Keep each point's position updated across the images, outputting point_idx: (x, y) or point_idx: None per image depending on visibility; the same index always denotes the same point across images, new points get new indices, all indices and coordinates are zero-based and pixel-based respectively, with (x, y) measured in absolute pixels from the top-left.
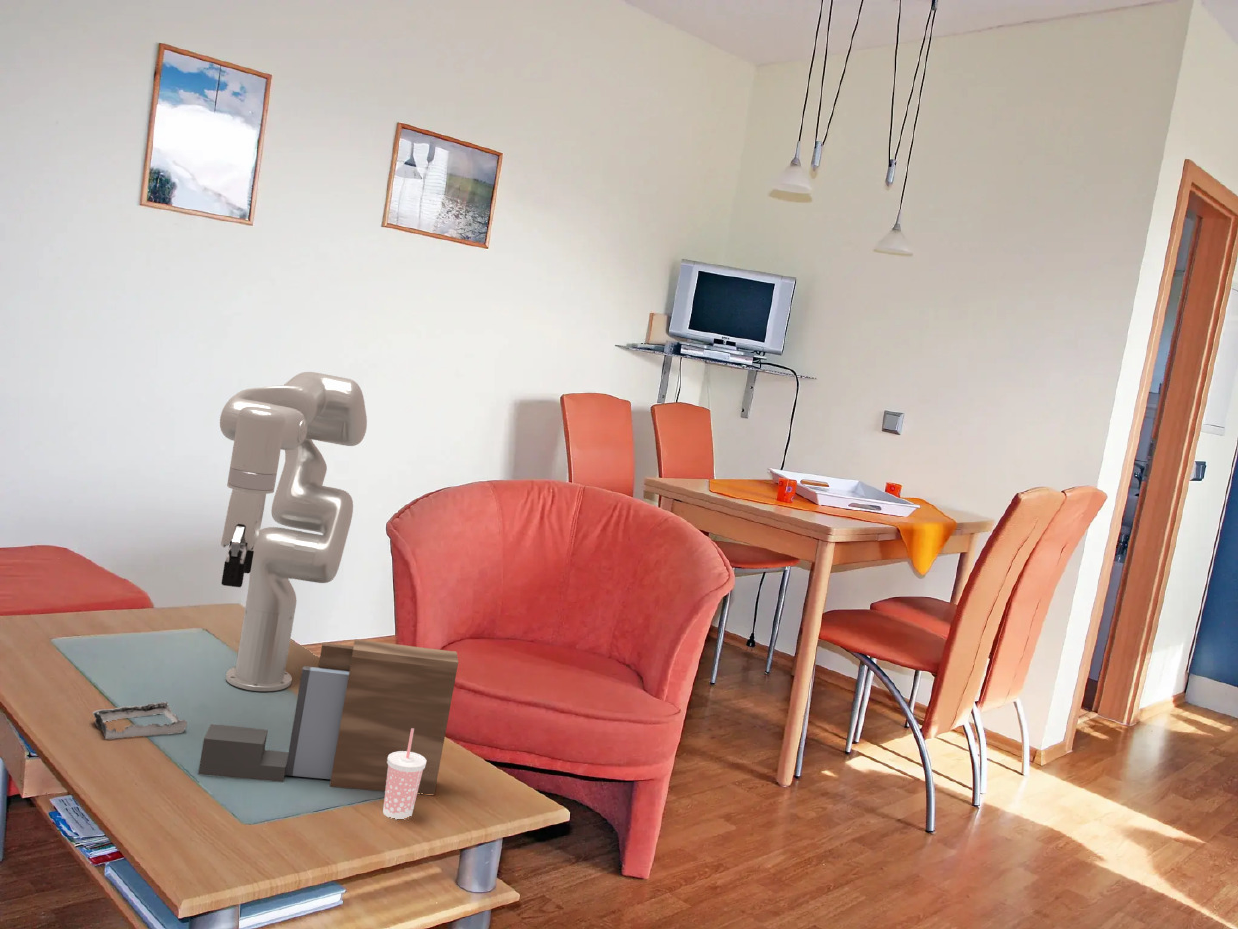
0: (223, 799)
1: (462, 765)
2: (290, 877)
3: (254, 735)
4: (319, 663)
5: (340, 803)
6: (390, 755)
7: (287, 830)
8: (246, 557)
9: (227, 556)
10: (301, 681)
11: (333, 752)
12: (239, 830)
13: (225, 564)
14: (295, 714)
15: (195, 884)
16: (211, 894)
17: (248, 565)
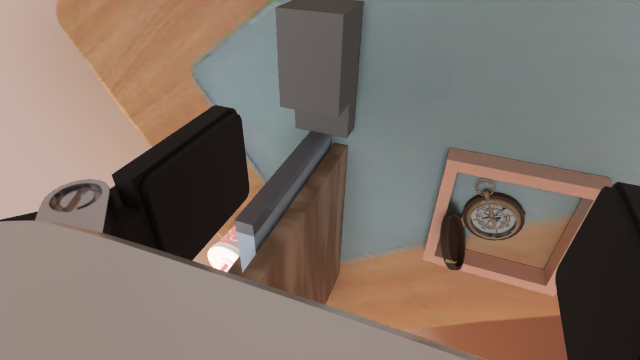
0: (238, 40)
1: (386, 312)
2: (120, 109)
3: (310, 94)
4: (255, 254)
5: (265, 174)
6: (229, 251)
7: (193, 114)
8: (590, 347)
9: (43, 211)
10: (247, 206)
11: None
12: (176, 63)
13: (130, 169)
14: (277, 170)
15: (74, 22)
16: (69, 39)
17: (566, 307)
